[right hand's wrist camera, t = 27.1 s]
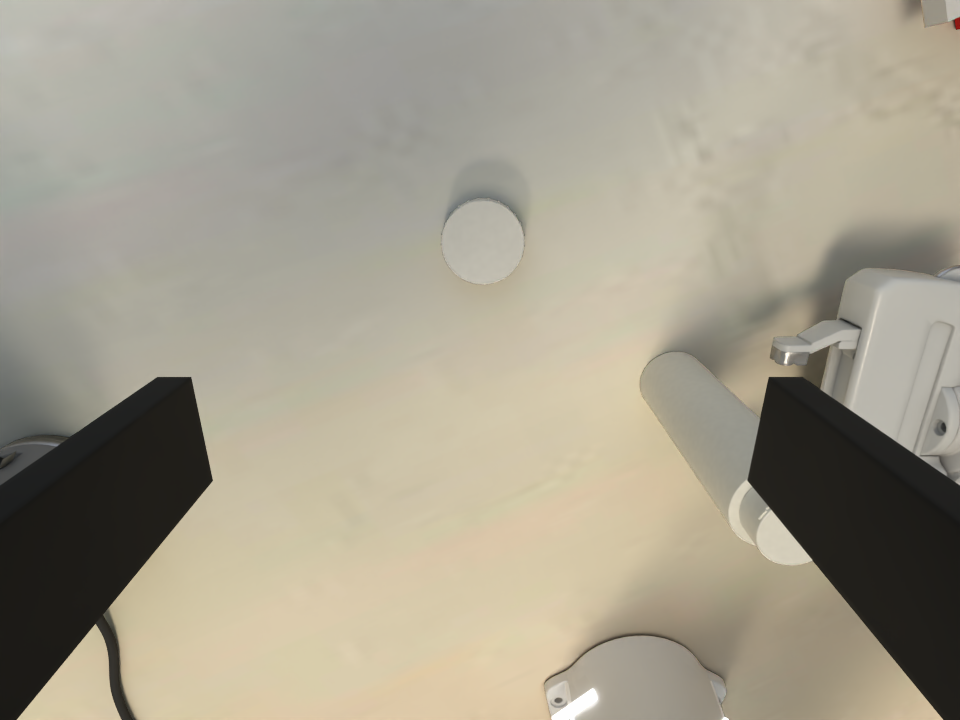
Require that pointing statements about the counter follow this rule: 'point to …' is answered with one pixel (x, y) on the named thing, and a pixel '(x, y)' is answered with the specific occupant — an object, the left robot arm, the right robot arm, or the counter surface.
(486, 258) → the lid
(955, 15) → the toy
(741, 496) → the bottle
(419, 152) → the counter surface
